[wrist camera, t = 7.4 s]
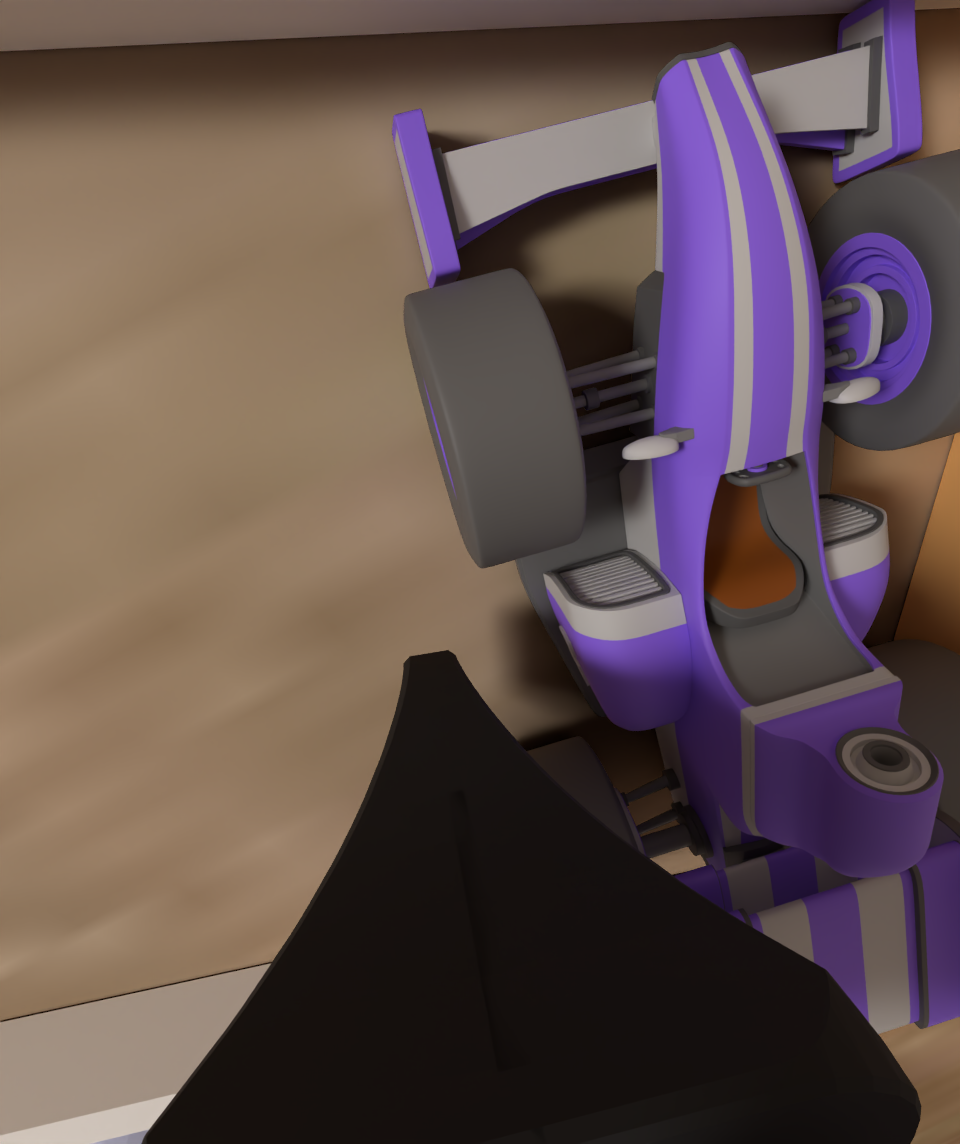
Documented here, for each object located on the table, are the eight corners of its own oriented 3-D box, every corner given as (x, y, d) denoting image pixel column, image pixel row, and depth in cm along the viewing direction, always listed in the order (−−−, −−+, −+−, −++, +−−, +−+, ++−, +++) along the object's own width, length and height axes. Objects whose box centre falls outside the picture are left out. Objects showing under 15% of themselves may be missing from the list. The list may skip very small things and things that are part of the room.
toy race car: (953, -14, 9) (2114, -511, 3) (862, 749, 16) (1141, 1027, 10) (281, 156, 8) (108, -48, 2) (506, 859, 15) (593, 1214, 10)
